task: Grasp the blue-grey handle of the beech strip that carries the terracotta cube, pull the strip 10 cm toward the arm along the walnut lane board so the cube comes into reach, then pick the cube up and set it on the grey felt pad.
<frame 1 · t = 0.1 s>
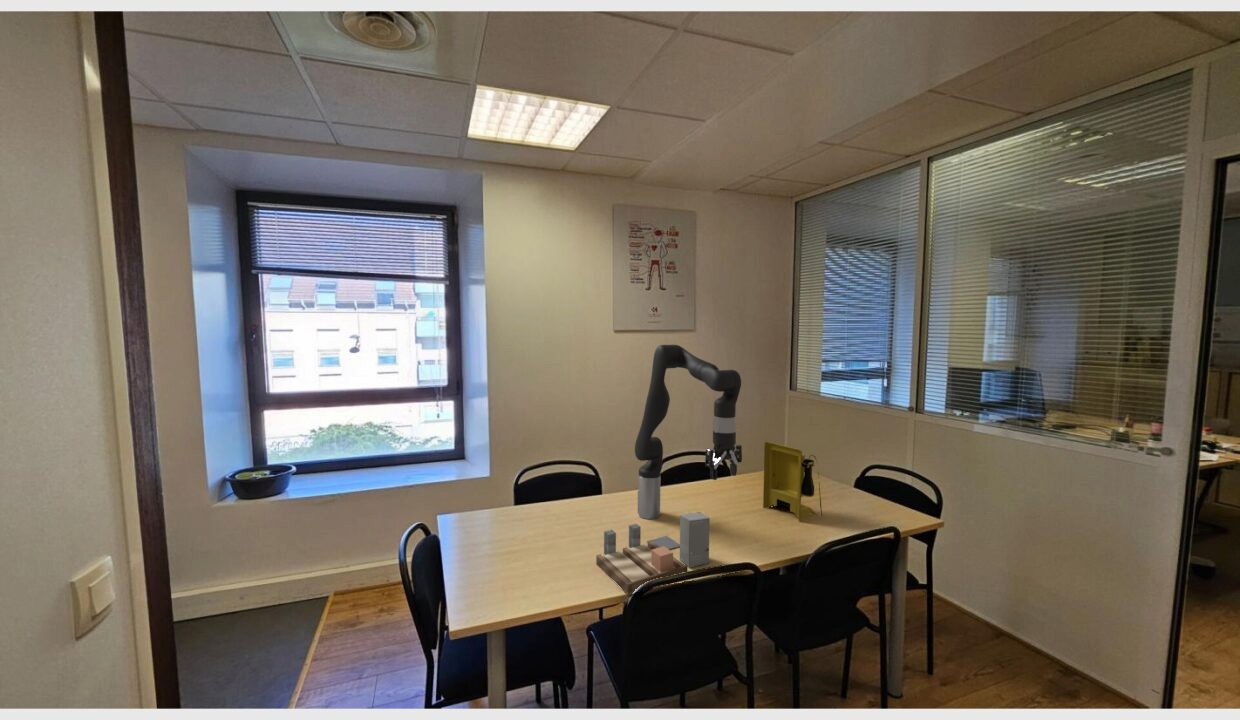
hand: (723, 477, 153), 29 cm above the table, fingers open, 8 cm apart
cube: (662, 566, 147), point 2 cm above the table, touching strip a
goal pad: (663, 544, 167), on the table
lane board: (640, 569, 149), on the table
strip b: (624, 555, 148), point 5 cm above the table, slide at 0.0 cm
strip a: (649, 548, 153), point 5 cm above the table, slide at 0.0 cm, touching cube
skincare box: (694, 561, 155), on the table
vintage telephone: (793, 512, 197), on the table
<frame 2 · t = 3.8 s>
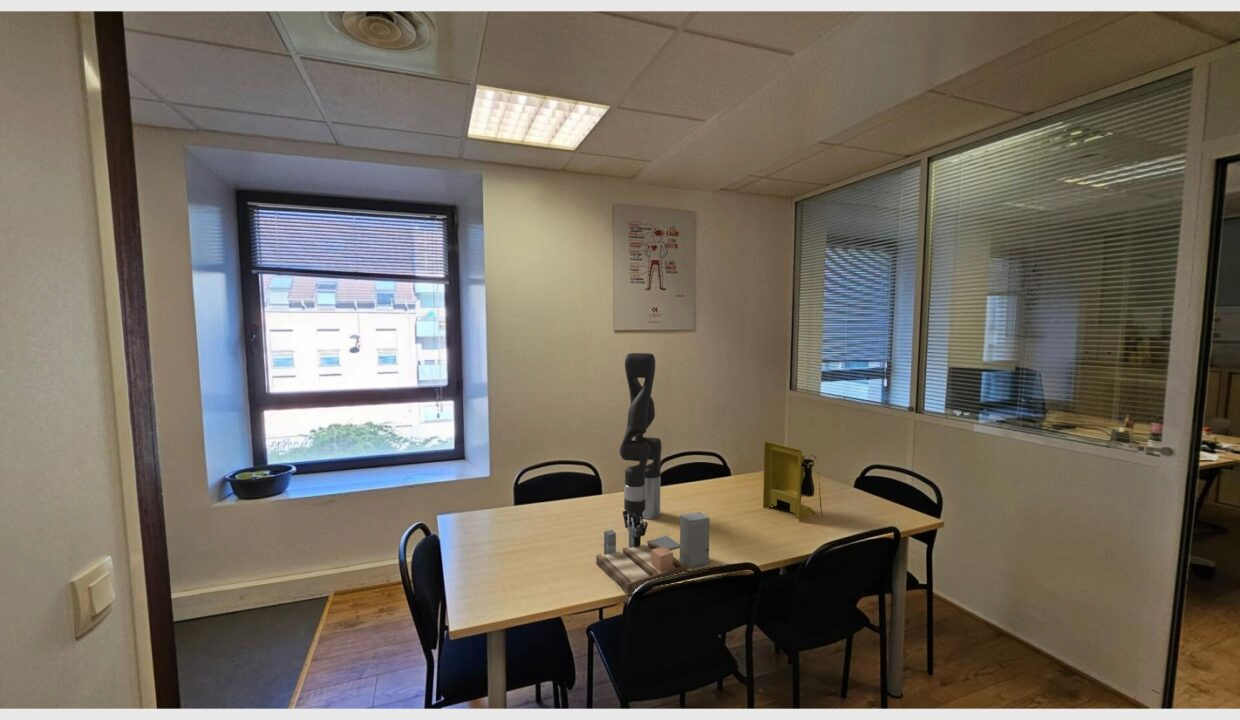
hand: (634, 543, 162), 3 cm above the table, fingers closed on strip a, 3 cm apart
strip a: (649, 548, 153), point 5 cm above the table, slide at 0.0 cm, touching cube, gripper
everything else where it was.
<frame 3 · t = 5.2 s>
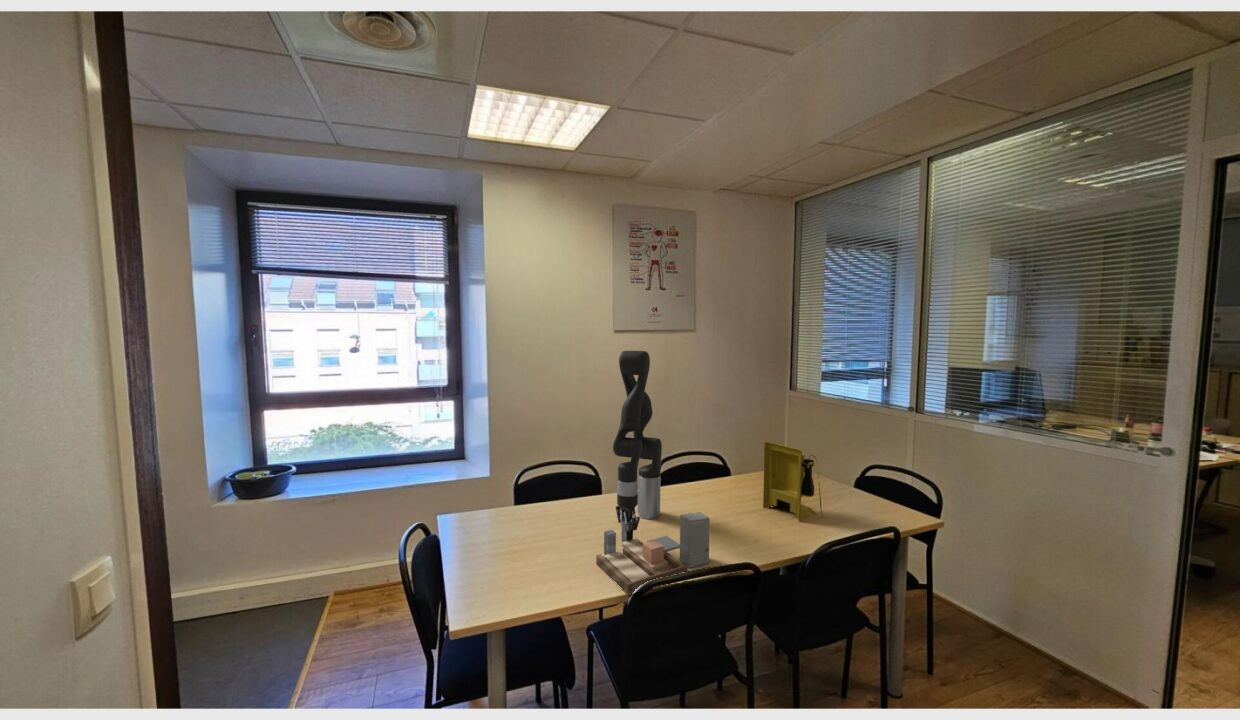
hand: (627, 537, 166), 3 cm above the table, fingers closed on strip a, 3 cm apart
cube: (653, 559, 152), point 2 cm above the table, touching strip a
strip a: (641, 542, 158), point 5 cm above the table, slide at 5.2 cm, touching cube, gripper
everything else where it was.
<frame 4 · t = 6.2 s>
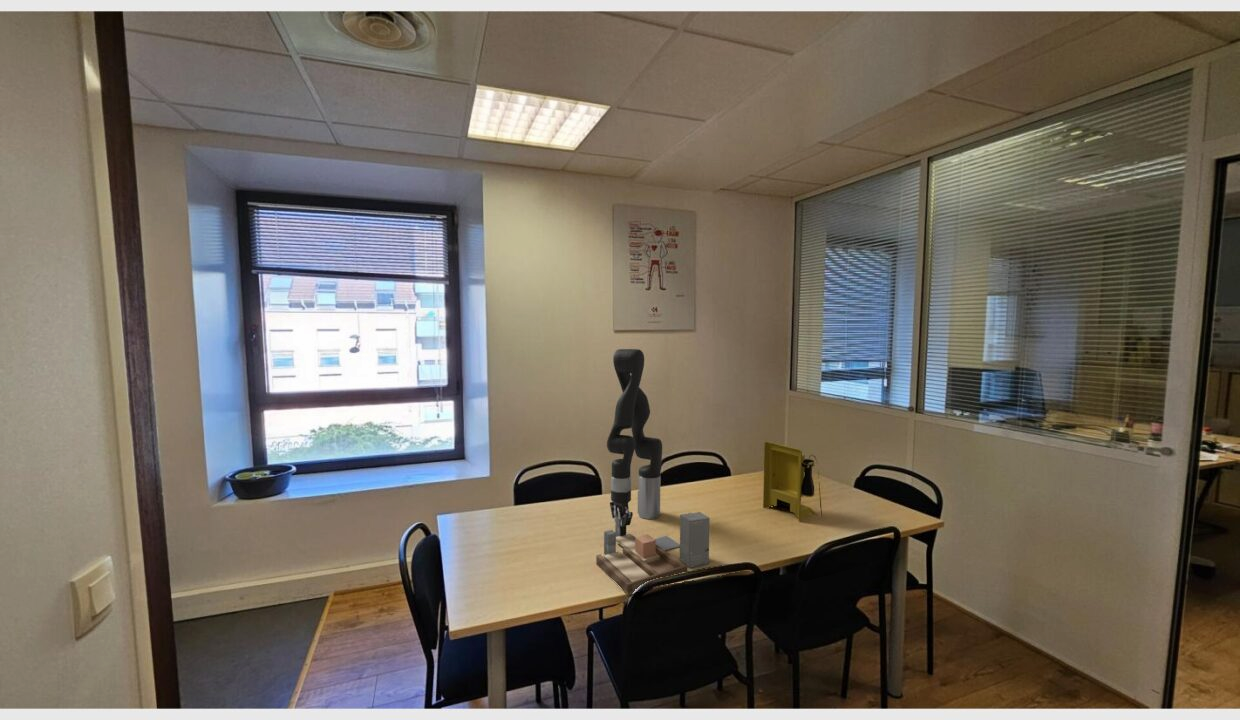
hand: (620, 532, 171), 3 cm above the table, fingers closed on strip a, 3 cm apart
cube: (645, 553, 156), point 2 cm above the table, touching strip a
strip a: (634, 536, 162), point 5 cm above the table, slide at 10.0 cm, touching cube, gripper
everything else where it was.
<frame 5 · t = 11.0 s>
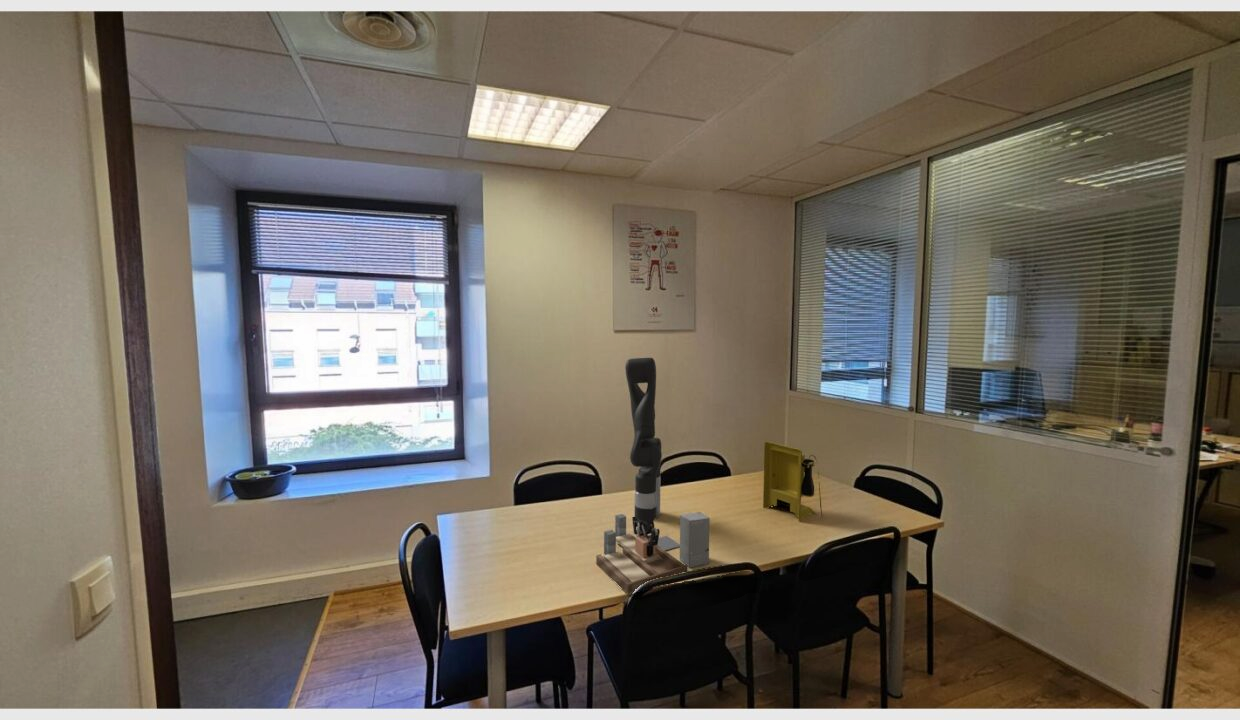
hand: (645, 551, 156), 3 cm above the table, fingers closed on cube, 5 cm apart
cube: (645, 552, 156), point 2 cm above the table, touching gripper, strip a
strip a: (634, 536, 162), point 5 cm above the table, slide at 10.0 cm, touching cube
everything else where it was.
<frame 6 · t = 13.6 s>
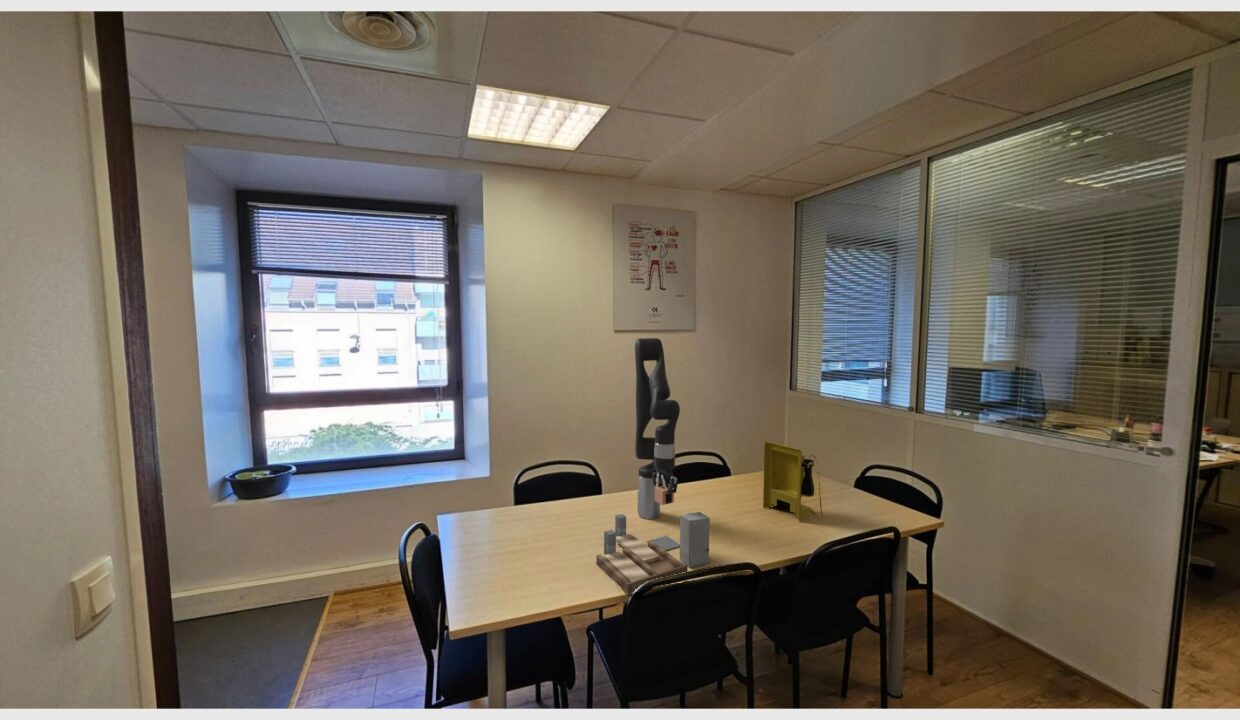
hand: (664, 500, 166), 16 cm above the table, fingers closed on cube, 5 cm apart
cube: (664, 501, 166), point 16 cm above the table, touching gripper
strip a: (634, 536, 162), point 5 cm above the table, slide at 10.0 cm
everything else where it was.
when the fingers open (2 cm above the table, at t = 16.5 s): cube drops 2 cm, resting on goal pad.
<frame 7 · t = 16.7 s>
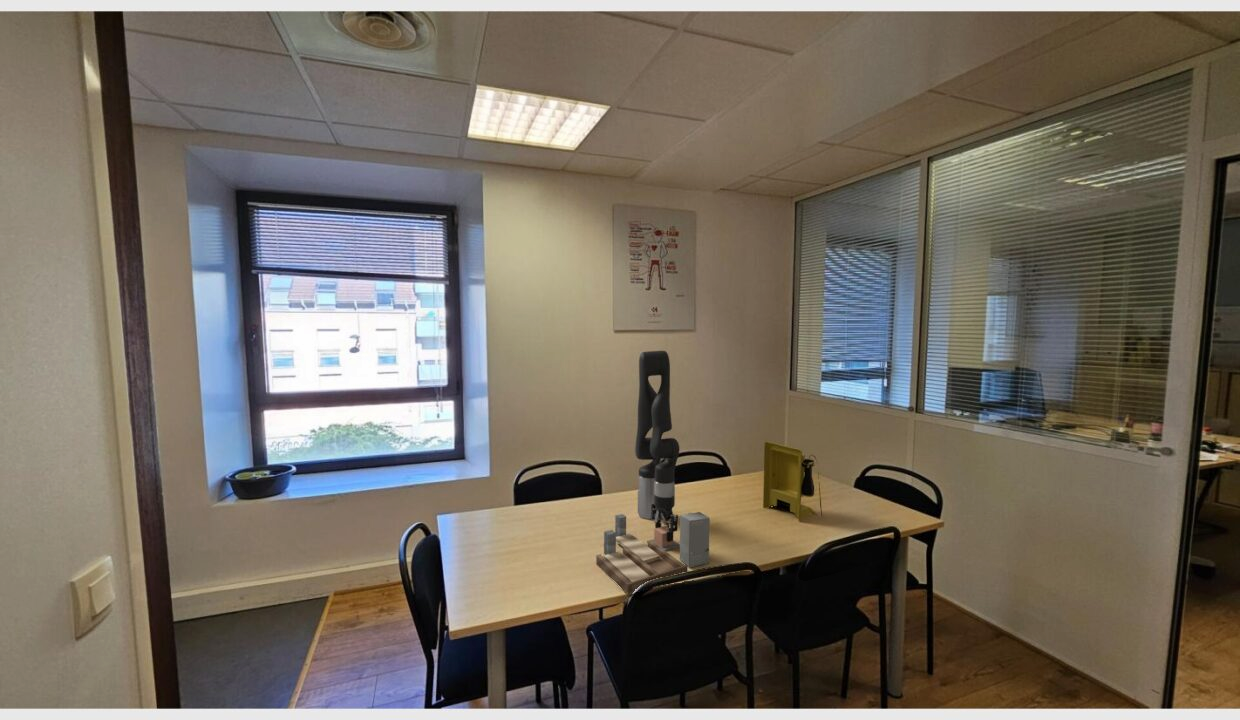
hand: (663, 537, 167), 3 cm above the table, fingers open, 6 cm apart
cube: (663, 543, 167), resting on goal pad
everything else where it was.
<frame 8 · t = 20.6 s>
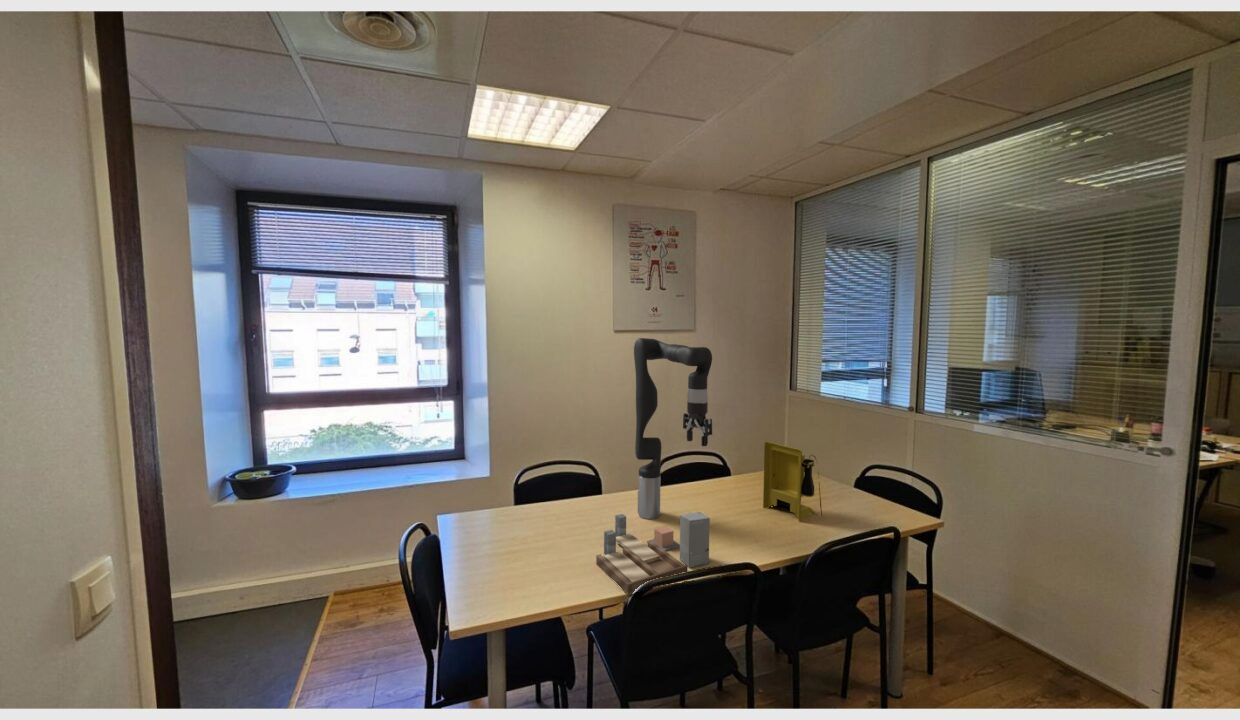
hand: (696, 443, 171), 36 cm above the table, fingers open, 8 cm apart
nothing on the table moved.
at the end: strip a slide at 10.0 cm; cube inside the target area on the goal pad (0.1 cm from its centre), point 0.4 cm above the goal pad's base; cube tilted 0° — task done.
